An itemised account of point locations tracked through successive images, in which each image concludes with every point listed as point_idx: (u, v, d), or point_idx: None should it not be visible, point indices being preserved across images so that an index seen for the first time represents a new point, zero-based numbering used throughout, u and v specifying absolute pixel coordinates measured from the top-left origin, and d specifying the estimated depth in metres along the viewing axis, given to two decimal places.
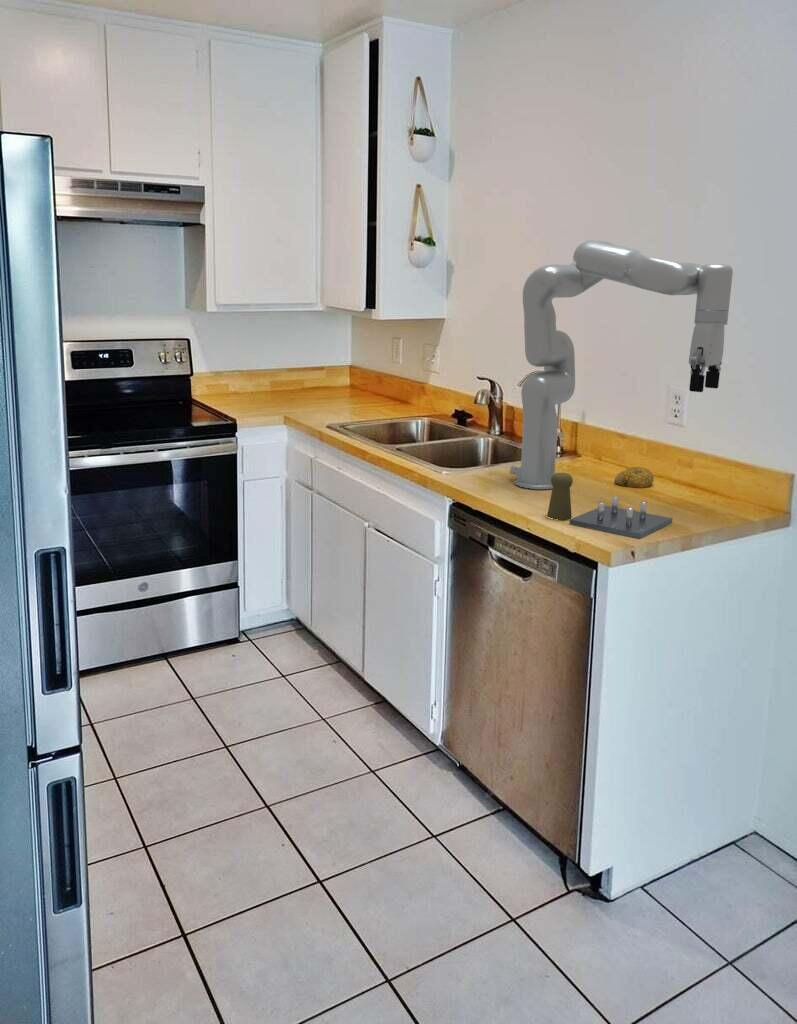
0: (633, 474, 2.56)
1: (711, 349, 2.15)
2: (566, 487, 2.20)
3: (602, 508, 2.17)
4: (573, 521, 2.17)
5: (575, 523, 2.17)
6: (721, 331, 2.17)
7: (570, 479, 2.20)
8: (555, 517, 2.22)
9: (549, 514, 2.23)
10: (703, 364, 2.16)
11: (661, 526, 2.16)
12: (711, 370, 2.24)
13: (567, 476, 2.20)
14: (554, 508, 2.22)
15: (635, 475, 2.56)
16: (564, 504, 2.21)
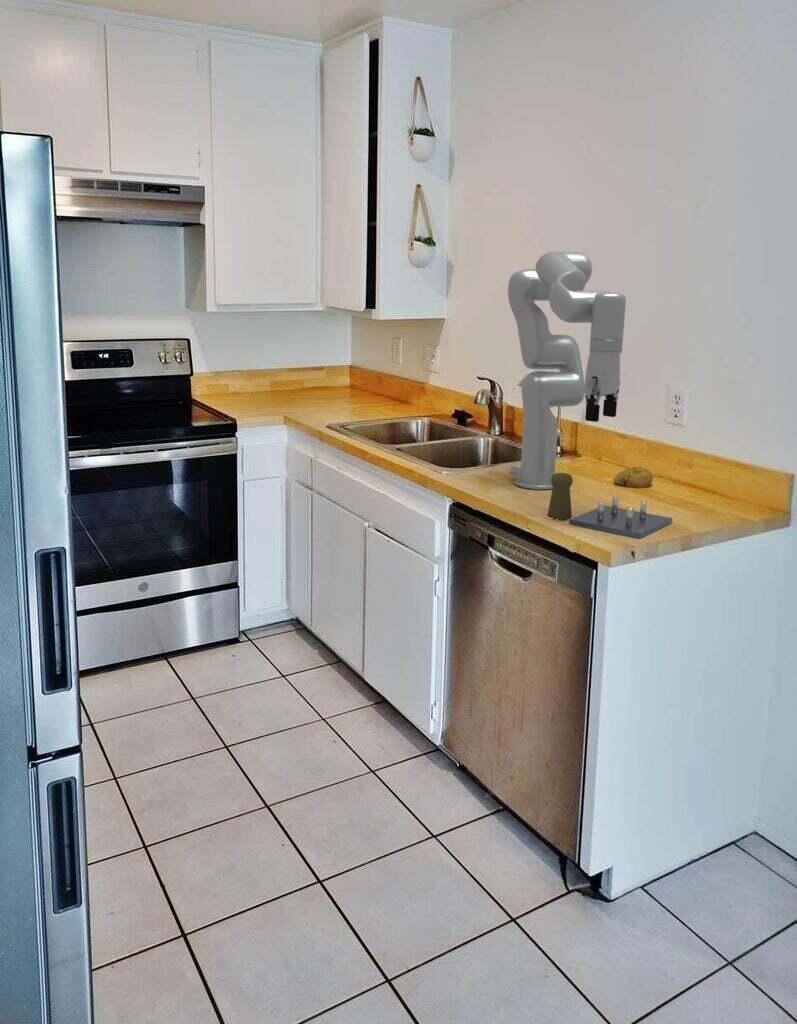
0: (632, 474, 2.56)
1: (605, 378, 2.12)
2: (566, 487, 2.20)
3: (602, 508, 2.17)
4: (573, 521, 2.17)
5: (575, 523, 2.17)
6: (616, 360, 2.15)
7: (570, 479, 2.20)
8: (555, 517, 2.22)
9: (549, 514, 2.23)
10: (598, 394, 2.13)
11: (661, 526, 2.16)
12: (608, 398, 2.22)
13: (567, 476, 2.20)
14: (554, 508, 2.22)
15: (634, 475, 2.56)
16: (564, 504, 2.21)
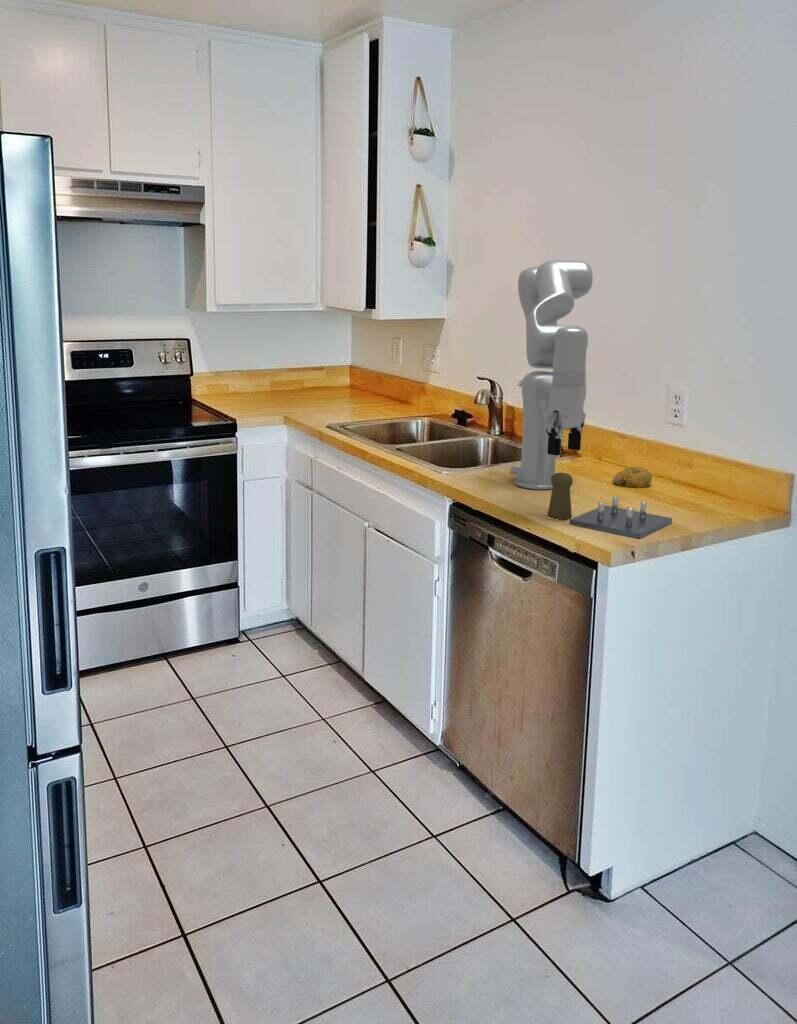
0: (631, 474, 2.56)
1: (566, 413, 2.13)
2: (566, 487, 2.20)
3: (602, 508, 2.17)
4: (573, 521, 2.17)
5: (575, 523, 2.17)
6: (578, 394, 2.15)
7: (570, 479, 2.20)
8: (555, 517, 2.22)
9: (549, 514, 2.23)
10: (559, 427, 2.14)
11: (661, 526, 2.16)
12: (573, 432, 2.22)
13: (567, 476, 2.20)
14: (554, 508, 2.22)
15: (633, 475, 2.56)
16: (564, 504, 2.21)
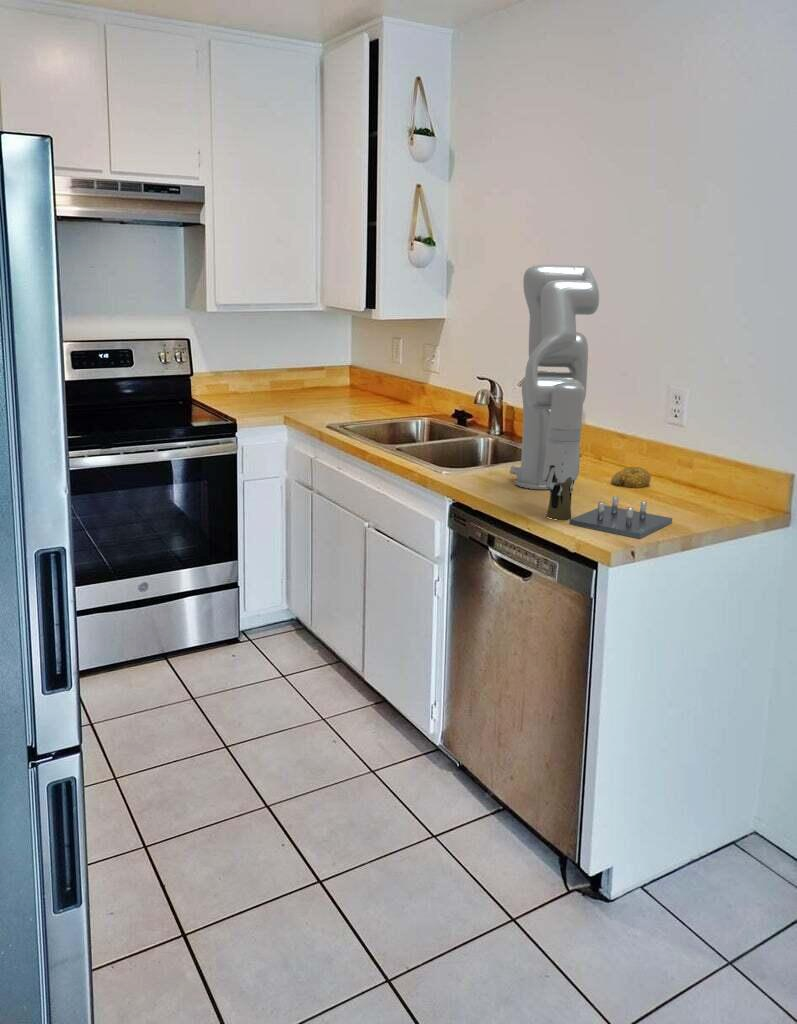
0: (630, 474, 2.56)
1: (563, 467, 2.17)
2: (565, 487, 2.20)
3: (602, 508, 2.17)
4: (573, 521, 2.17)
5: (575, 523, 2.17)
6: (575, 448, 2.19)
7: (569, 479, 2.20)
8: (555, 517, 2.22)
9: (549, 514, 2.23)
10: (559, 485, 2.19)
11: (661, 526, 2.16)
12: None
13: None
14: (553, 508, 2.22)
15: (632, 475, 2.56)
16: (563, 504, 2.21)
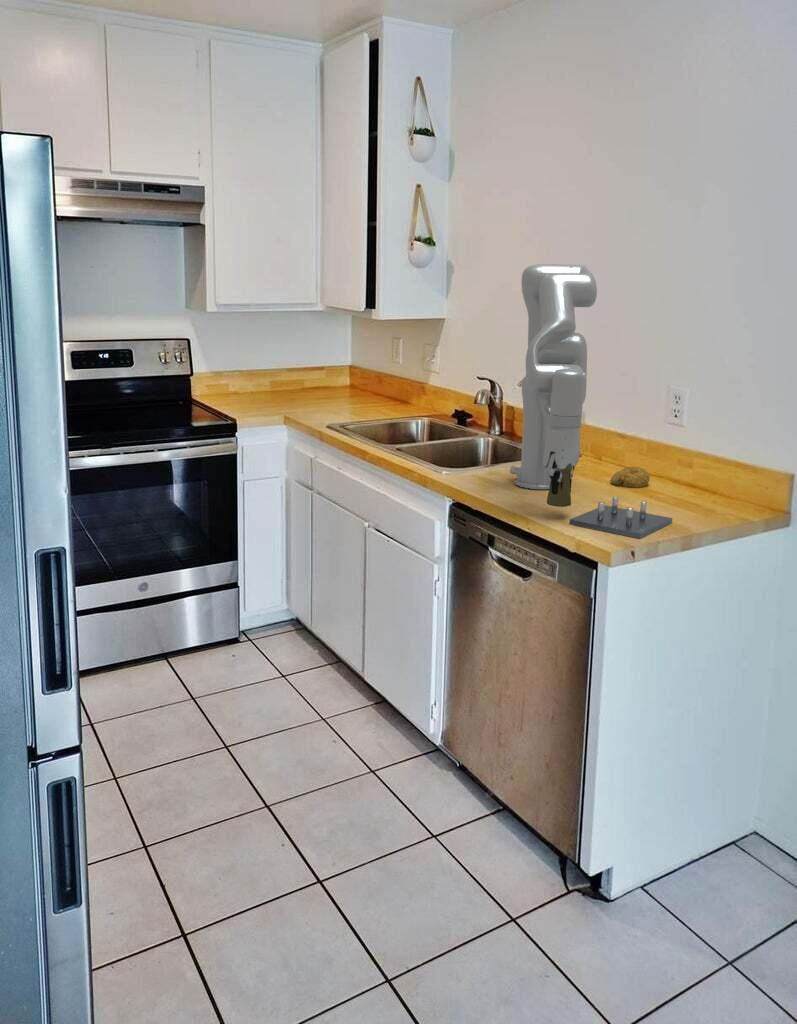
0: (629, 474, 2.56)
1: (563, 454, 2.16)
2: (565, 473, 2.20)
3: (602, 508, 2.17)
4: (573, 521, 2.17)
5: (575, 523, 2.17)
6: (575, 434, 2.18)
7: (569, 465, 2.20)
8: (554, 503, 2.21)
9: (548, 500, 2.23)
10: (559, 471, 2.19)
11: (661, 526, 2.16)
12: None
13: None
14: (553, 495, 2.21)
15: (631, 475, 2.56)
16: (563, 490, 2.21)
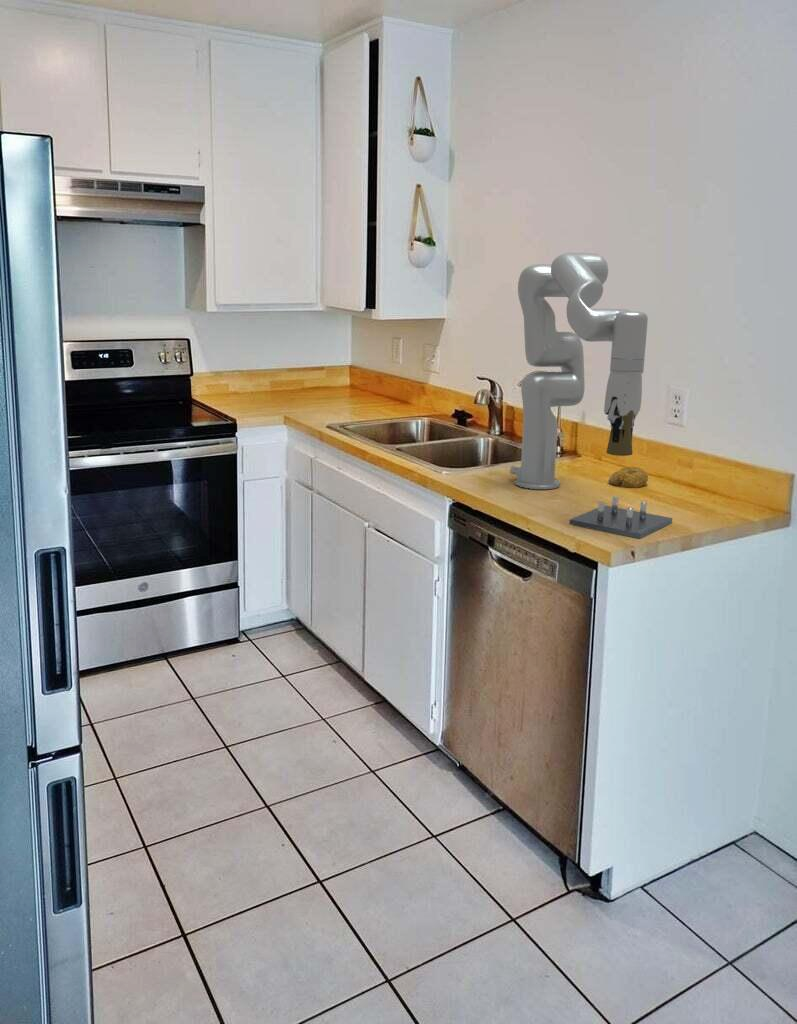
0: (627, 474, 2.56)
1: (625, 399, 2.08)
2: (627, 421, 2.11)
3: (602, 508, 2.17)
4: (573, 521, 2.17)
5: (575, 523, 2.17)
6: (637, 380, 2.10)
7: (631, 412, 2.11)
8: (615, 452, 2.13)
9: (609, 450, 2.14)
10: (621, 418, 2.10)
11: (661, 526, 2.16)
12: None
13: None
14: (614, 443, 2.13)
15: (629, 475, 2.56)
16: (624, 438, 2.12)
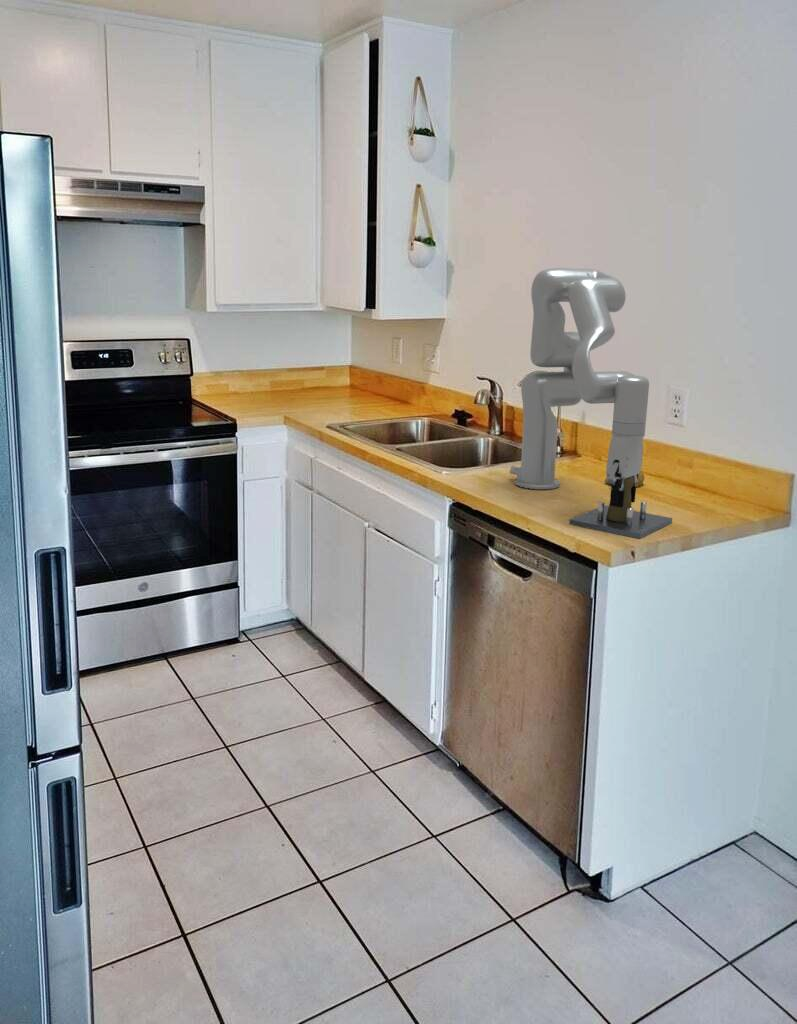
0: None
1: (627, 462, 2.11)
2: (626, 488, 2.15)
3: (602, 508, 2.17)
4: (573, 521, 2.17)
5: (575, 523, 2.17)
6: (638, 442, 2.13)
7: (631, 480, 2.15)
8: (613, 518, 2.16)
9: (608, 515, 2.18)
10: (621, 479, 2.13)
11: (661, 526, 2.16)
12: None
13: None
14: (613, 509, 2.16)
15: None
16: (623, 505, 2.15)
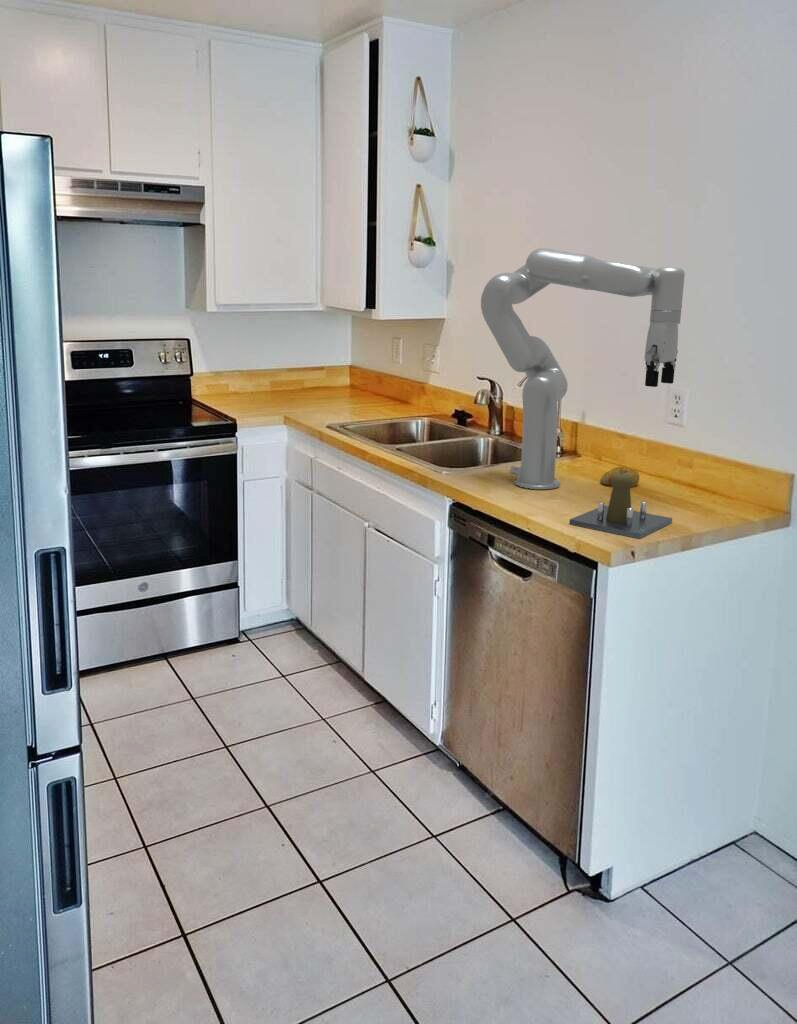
0: None
1: (664, 347, 2.30)
2: (625, 488, 2.15)
3: (602, 508, 2.17)
4: (573, 521, 2.17)
5: (575, 523, 2.17)
6: (674, 330, 2.32)
7: (630, 480, 2.14)
8: (613, 519, 2.16)
9: (608, 515, 2.18)
10: (657, 361, 2.31)
11: (661, 526, 2.16)
12: (666, 366, 2.40)
13: (627, 477, 2.14)
14: (612, 510, 2.16)
15: None
16: (623, 505, 2.15)
